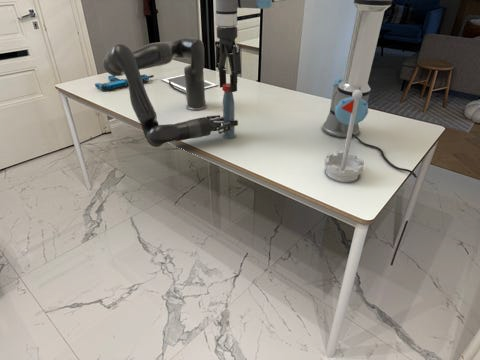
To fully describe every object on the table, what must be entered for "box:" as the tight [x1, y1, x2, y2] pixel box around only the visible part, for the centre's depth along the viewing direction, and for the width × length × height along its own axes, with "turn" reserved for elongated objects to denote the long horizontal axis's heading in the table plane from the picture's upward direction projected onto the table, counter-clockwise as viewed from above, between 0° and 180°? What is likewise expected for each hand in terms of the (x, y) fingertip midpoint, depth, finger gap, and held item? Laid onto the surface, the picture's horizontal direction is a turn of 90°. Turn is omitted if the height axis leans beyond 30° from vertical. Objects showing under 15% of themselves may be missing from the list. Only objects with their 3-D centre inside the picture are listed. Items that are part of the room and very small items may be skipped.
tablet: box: [161, 74, 219, 92], centre depth 208 cm, size 32×20×1 cm, turn 41°
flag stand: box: [323, 90, 365, 183], centre depth 111 cm, size 13×13×30 cm
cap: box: [221, 82, 230, 92], centre depth 134 cm, size 5×5×2 cm
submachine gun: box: [94, 74, 155, 91], centre depth 208 cm, size 34×4×25 cm
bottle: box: [222, 91, 236, 139], centre depth 140 cm, size 5×5×21 cm
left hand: (234, 120), depth 143 cm, fingers closed on bottle, 4 cm apart
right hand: (228, 89), depth 134 cm, fingers open, 7 cm apart
